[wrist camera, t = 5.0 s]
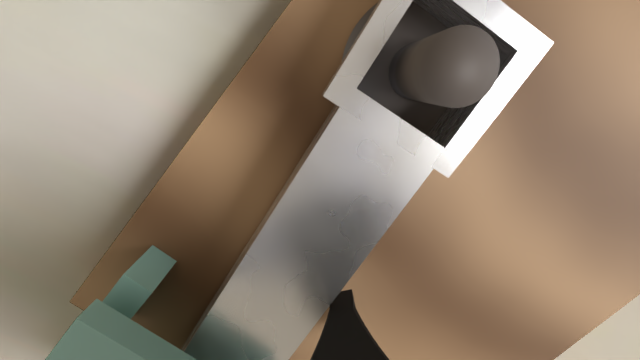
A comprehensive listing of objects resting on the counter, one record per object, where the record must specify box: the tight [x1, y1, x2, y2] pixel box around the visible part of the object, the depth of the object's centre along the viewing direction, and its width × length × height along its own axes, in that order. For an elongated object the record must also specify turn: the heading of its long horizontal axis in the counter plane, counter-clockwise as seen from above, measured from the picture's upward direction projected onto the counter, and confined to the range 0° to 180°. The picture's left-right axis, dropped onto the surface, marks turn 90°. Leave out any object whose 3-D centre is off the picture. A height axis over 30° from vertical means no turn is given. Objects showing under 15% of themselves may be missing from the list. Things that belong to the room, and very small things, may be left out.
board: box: [70, 0, 640, 360], centre depth 10 cm, size 20×16×4 cm
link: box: [180, 0, 554, 360], centre depth 10 cm, size 15×4×2 cm, turn 148°
